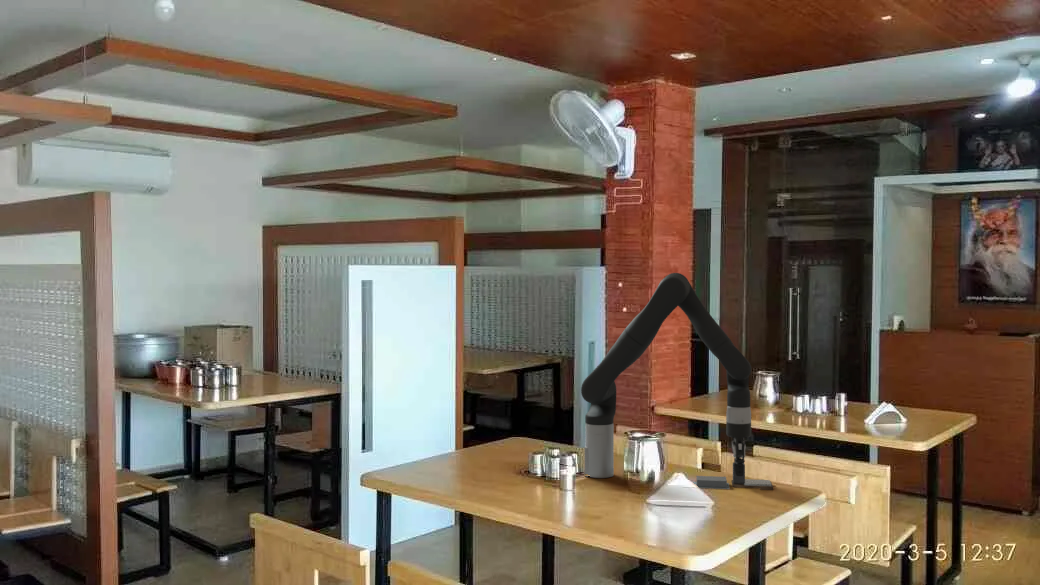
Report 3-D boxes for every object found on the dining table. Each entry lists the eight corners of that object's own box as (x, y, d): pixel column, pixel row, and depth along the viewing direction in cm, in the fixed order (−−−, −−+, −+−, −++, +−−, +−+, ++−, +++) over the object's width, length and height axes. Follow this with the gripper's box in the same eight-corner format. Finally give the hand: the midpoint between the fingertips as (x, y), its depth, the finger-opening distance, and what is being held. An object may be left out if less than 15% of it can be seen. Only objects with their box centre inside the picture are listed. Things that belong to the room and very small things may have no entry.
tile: (696, 480, 274) (726, 481, 272) (696, 475, 280) (725, 476, 278) (696, 487, 274) (726, 488, 272) (696, 482, 280) (725, 483, 278)
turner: (732, 480, 280) (732, 461, 280) (769, 481, 278) (769, 462, 278) (733, 485, 274) (733, 465, 274) (771, 486, 272) (771, 466, 272)
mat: (683, 488, 274) (683, 487, 274) (683, 482, 282) (683, 481, 282) (729, 490, 271) (729, 489, 271) (728, 484, 279) (728, 483, 279)
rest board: (732, 488, 274) (732, 485, 273) (731, 483, 280) (731, 480, 280) (773, 490, 271) (773, 486, 271) (770, 484, 278) (770, 481, 278)
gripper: (753, 424, 269) (753, 478, 269) (749, 417, 283) (749, 468, 283) (727, 424, 270) (727, 477, 270) (725, 417, 284) (725, 467, 284)
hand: (738, 472), depth 277 cm, fingers open, 8 cm apart
